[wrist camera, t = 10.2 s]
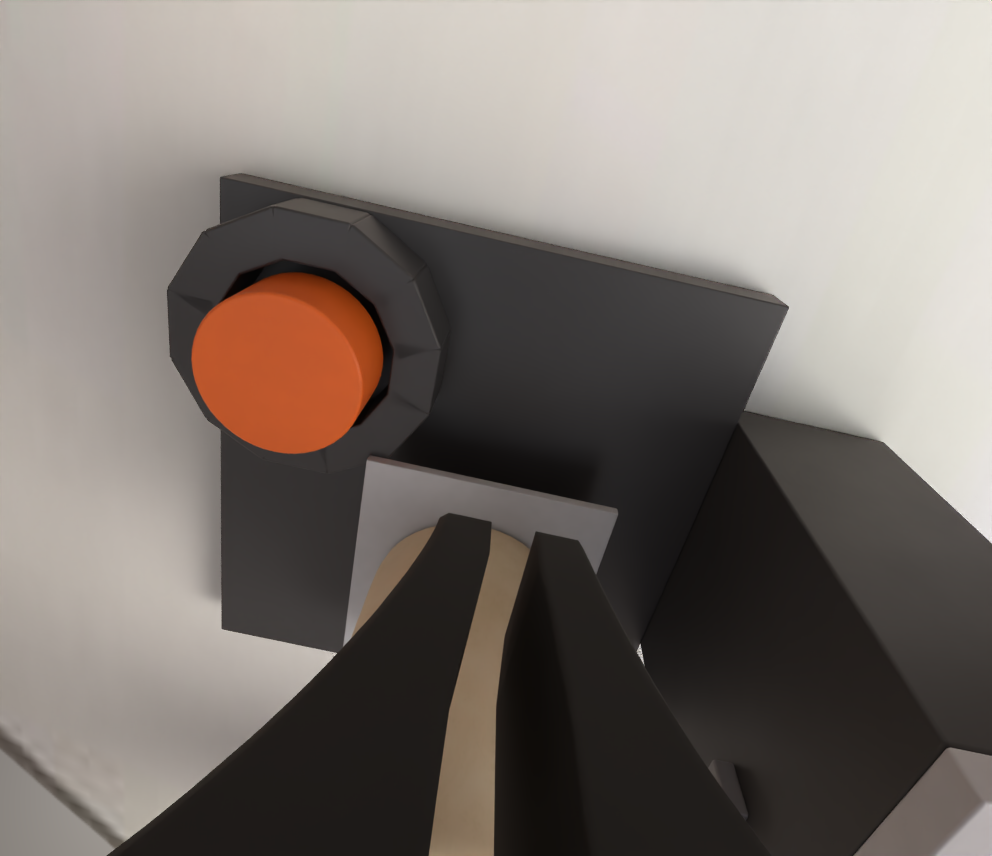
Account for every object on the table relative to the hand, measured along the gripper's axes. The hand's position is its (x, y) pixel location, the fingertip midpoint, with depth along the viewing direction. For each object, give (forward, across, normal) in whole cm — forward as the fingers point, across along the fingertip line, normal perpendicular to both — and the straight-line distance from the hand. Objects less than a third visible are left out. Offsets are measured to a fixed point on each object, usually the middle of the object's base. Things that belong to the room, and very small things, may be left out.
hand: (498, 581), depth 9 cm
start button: (+8, +6, +1) cm, 10 cm away
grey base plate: (+10, +1, +5) cm, 12 cm away
